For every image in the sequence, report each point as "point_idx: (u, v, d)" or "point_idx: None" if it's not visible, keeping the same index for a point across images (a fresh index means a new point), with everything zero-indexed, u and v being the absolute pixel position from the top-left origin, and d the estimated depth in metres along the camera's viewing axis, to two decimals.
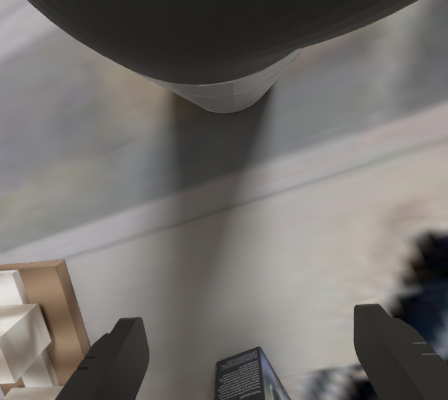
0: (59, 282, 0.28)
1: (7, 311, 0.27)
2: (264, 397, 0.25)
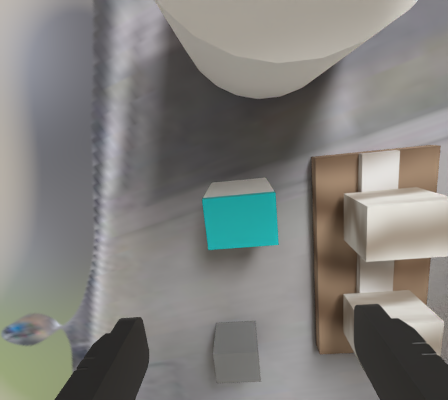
0: (437, 165, 0.26)
1: (395, 191, 0.25)
2: None
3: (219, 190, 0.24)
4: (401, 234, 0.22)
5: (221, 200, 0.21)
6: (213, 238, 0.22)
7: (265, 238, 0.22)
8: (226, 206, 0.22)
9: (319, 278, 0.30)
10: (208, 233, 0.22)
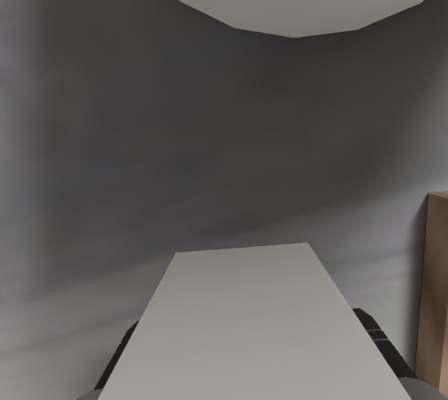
0: None
1: None
2: None
3: (178, 325, 0.07)
4: None
5: None
6: None
7: None
8: None
9: None
10: None
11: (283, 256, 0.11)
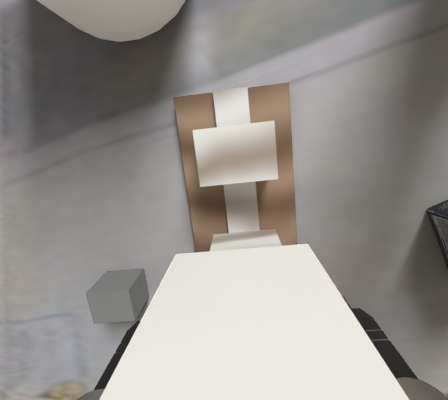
0: (288, 102, 0.27)
1: None
2: None
3: (178, 327, 0.07)
4: (228, 157, 0.23)
5: None
6: None
7: None
8: None
9: (193, 220, 0.31)
10: None
11: (283, 257, 0.11)
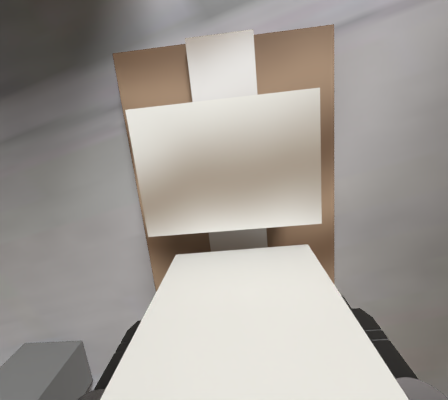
0: (331, 65, 0.14)
1: None
2: None
3: (179, 328, 0.07)
4: (209, 174, 0.10)
5: None
6: None
7: None
8: None
9: (155, 274, 0.18)
10: None
11: (283, 258, 0.11)
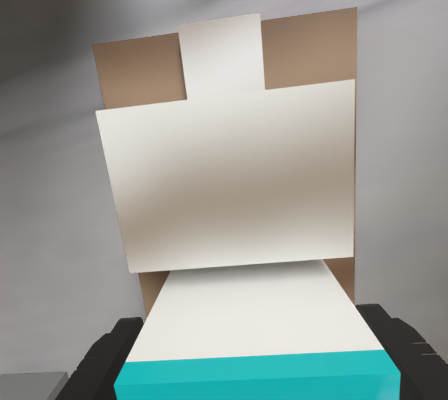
0: (352, 56, 0.12)
1: None
2: None
3: (193, 296, 0.09)
4: (207, 194, 0.08)
5: (186, 390, 0.06)
6: None
7: None
8: None
9: (147, 300, 0.15)
10: None
11: None
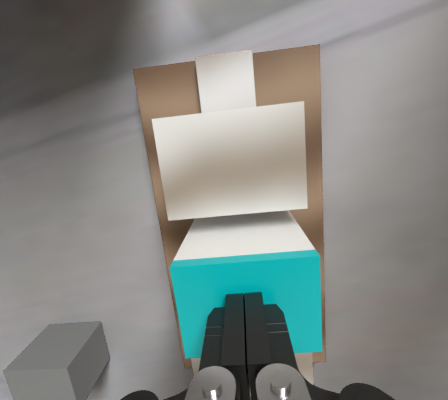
0: (317, 78, 0.17)
1: None
2: None
3: (208, 236, 0.14)
4: (217, 169, 0.13)
5: (209, 269, 0.11)
6: (194, 338, 0.11)
7: (296, 340, 0.11)
8: (219, 280, 0.11)
9: (168, 259, 0.20)
10: (184, 329, 0.11)
11: None
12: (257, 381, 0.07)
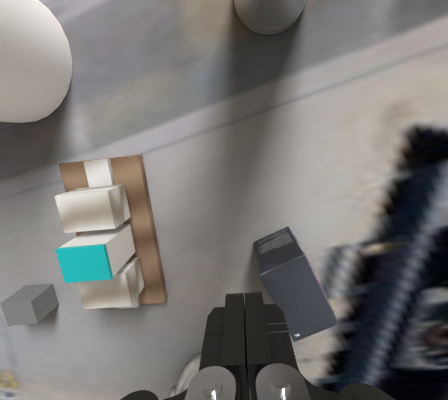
0: (139, 168, 0.38)
1: (103, 186, 0.37)
2: (296, 242, 0.34)
3: (80, 239, 0.35)
4: (80, 214, 0.34)
5: (68, 250, 0.32)
6: (67, 275, 0.32)
7: (101, 275, 0.32)
8: (72, 254, 0.32)
9: None
10: (63, 271, 0.32)
11: (118, 227, 0.38)
12: (257, 381, 0.07)
